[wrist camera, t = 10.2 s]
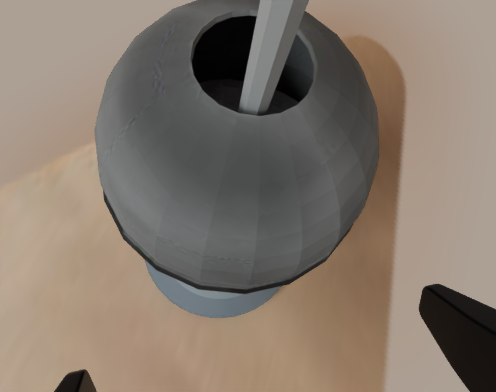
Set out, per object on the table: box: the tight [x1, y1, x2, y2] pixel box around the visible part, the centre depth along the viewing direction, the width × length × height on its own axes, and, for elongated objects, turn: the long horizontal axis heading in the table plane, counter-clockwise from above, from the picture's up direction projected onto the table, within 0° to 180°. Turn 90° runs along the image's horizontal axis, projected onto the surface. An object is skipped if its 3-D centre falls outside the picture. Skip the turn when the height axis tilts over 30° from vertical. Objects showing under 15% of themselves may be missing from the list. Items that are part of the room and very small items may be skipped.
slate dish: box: [145, 260, 281, 318], centre depth 21 cm, size 9×9×1 cm
